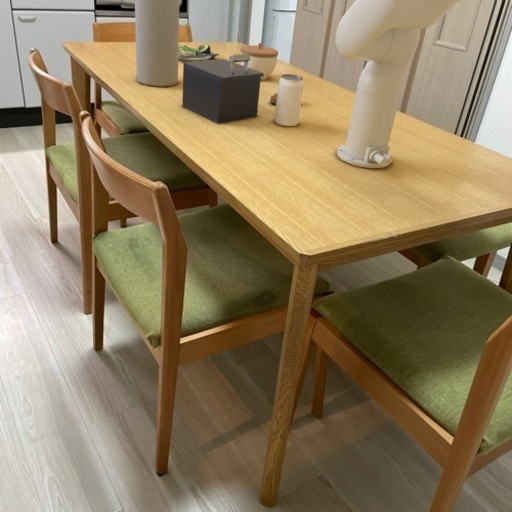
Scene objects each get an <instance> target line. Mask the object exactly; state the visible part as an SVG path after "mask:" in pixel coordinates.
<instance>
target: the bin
mask: <svg viewBox="0 0 512 512" xmlns="http://www.w3.org/2000/svg"><path fill="white" fill-rule="evenodd" d="M182 66H183V67H182V102H181V103H182V105H181V106H182V108H185V109H186V110H188V111H192V112H193V113H196V114H198V115H200V116H202V117H204V118H206V119H208V120H209V121H212V122H215V123H216V124H222V123H227V122H234V121H239V120H244V119H245V120H246V119H249V118H250V119H251V118H255V117H258V109H259V101H260V91H261V90H260V89H261V82H262V80H261V77H253V78H245V79H236V80H228V81H222V80H219V79H217V78H214V77H212V76H209V75H207V74H204V73H202V72H199V71H197V70H194V69H192V68H189V67H187V66H184V65H182Z"/></svg>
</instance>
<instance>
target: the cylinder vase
mask: <svg viewBox="0 0 512 512" xmlns="http://www.w3.org/2000/svg"><path fill="white" fill-rule="evenodd" d="M134 18H135V19H134V21H135V22H134V23H135V24H134V25H135V64H136V65H135V66H136V80H137V81H138V83H140V84H142V85H145V86H150V87H160V88H161V87H171V86H175V85H176V84H177V83H178V81H179V60H178V47H179V46H180V45H179V37H180V36H179V35H180V0H134Z"/></svg>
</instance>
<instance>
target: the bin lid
mask: <svg viewBox="0 0 512 512" xmlns="http://www.w3.org/2000/svg"><path fill="white" fill-rule="evenodd" d="M228 59H229V60H228ZM228 59H225V58H218V59H211V60H204V61H192V62H184V61H182V63H183V65H182V66H187V67H189V68H192V69H194V70H197V71H199V72H202V73H204V74H207V75H209V76H212V77H214V78H217V79H219V80H222V81H228V80H236V79H245V78H253V77H261V76H264V73H262V72H259V71H256V70H253V69H250V68H248V61H249V60H250V55H249V54H241V53H237V54H230V55H229V57H228ZM241 62H244V66H242V65H241V64H240V63H241Z"/></svg>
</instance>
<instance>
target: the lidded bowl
mask: <svg viewBox="0 0 512 512" xmlns="http://www.w3.org/2000/svg"><path fill="white" fill-rule="evenodd" d="M240 54H249V55H250V60H249V61H248V68H250V69H253V70H256V71H259V72H262V73H264V76H261V81H265V80H267V79H268V77H270V76H271V75H272V74H273V72H274V71H275V68H276V64H277V62H278V61H277V60H278V55H279V51H278V50H277V49H276V48H273V47H269V46H265V45H263V43H262V42H258V43H257V45H256V44H254V45H253V44H249V45H243V46H241V47H240ZM240 65H242V66H244V62H240Z"/></svg>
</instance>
